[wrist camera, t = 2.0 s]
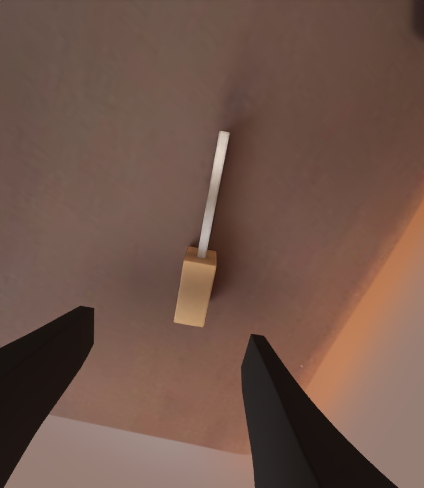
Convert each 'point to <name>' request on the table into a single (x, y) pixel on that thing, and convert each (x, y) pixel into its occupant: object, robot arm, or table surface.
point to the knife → (201, 255)
